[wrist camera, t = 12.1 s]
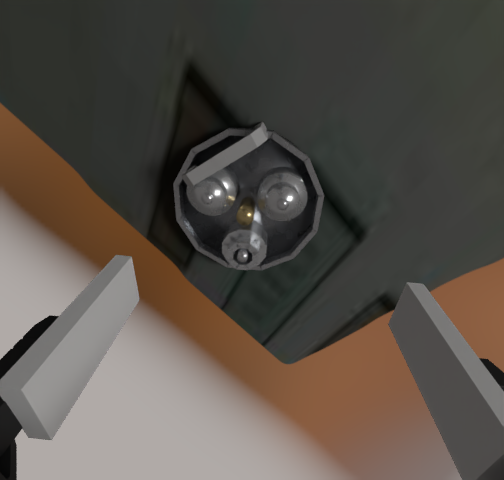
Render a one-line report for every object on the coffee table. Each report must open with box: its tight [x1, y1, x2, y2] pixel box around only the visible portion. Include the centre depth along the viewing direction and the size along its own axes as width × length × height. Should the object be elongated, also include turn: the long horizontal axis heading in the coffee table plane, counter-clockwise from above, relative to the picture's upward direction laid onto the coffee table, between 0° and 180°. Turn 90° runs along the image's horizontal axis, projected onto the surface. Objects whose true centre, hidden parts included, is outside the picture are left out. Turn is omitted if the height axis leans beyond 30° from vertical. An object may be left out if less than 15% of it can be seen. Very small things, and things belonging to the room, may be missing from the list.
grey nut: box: [222, 220, 267, 270], centre depth 43 cm, size 7×7×6 cm
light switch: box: [181, 122, 268, 187], centre depth 36 cm, size 2×12×8 cm, turn 120°
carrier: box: [173, 127, 324, 270], centre depth 40 cm, size 22×22×8 cm
